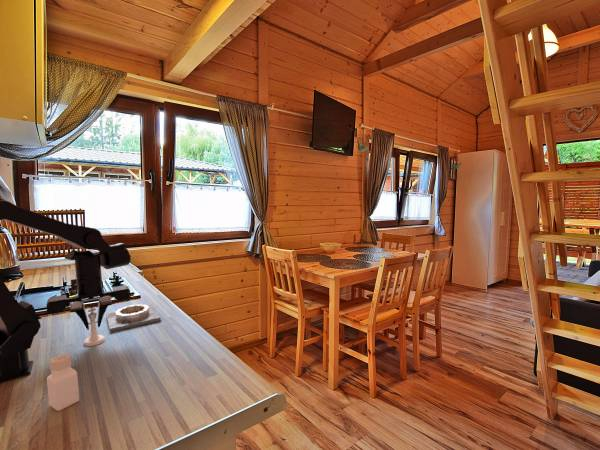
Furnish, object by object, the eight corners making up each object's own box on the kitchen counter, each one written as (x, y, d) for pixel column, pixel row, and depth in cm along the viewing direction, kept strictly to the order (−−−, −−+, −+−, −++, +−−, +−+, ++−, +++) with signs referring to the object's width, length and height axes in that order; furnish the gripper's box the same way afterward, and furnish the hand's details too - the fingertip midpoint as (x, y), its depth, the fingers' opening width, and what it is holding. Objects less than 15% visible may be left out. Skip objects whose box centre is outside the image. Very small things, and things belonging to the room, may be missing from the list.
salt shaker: (57, 413, 59) (52, 365, 58) (48, 405, 61) (43, 360, 60) (81, 401, 62) (76, 356, 61) (71, 394, 64) (67, 350, 63)
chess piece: (80, 343, 86) (76, 308, 85) (98, 336, 90) (95, 302, 89) (90, 347, 84) (87, 311, 82) (108, 339, 88) (106, 305, 87)
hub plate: (160, 320, 101) (159, 311, 100) (110, 332, 92) (109, 322, 92) (152, 307, 112) (151, 299, 111) (106, 317, 104) (105, 308, 103)
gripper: (124, 262, 97) (127, 311, 98) (47, 272, 86) (52, 326, 88) (129, 270, 88) (132, 323, 89) (43, 281, 77) (49, 341, 79)
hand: (93, 327), depth 86 cm, fingers closed on chess piece, 2 cm apart
